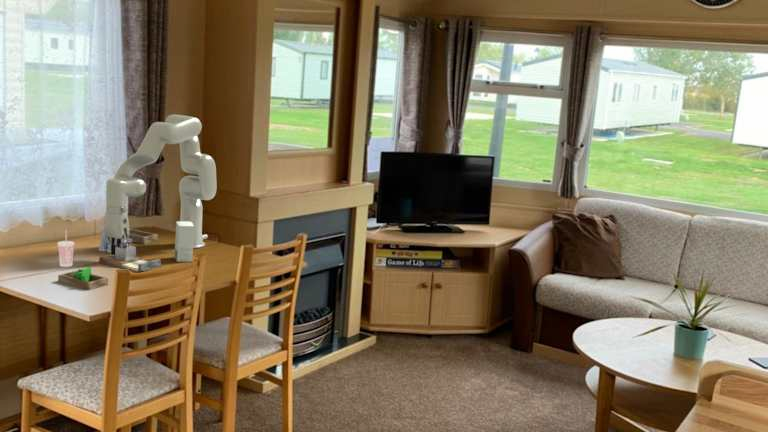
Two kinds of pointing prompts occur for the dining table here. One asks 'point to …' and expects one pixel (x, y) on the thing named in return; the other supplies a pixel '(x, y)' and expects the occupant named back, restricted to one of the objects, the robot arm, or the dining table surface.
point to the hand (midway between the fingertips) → (115, 254)
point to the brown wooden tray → (95, 281)
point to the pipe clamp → (83, 274)
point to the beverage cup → (66, 252)
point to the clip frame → (142, 236)
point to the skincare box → (184, 241)
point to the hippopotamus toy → (106, 242)
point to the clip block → (125, 252)
